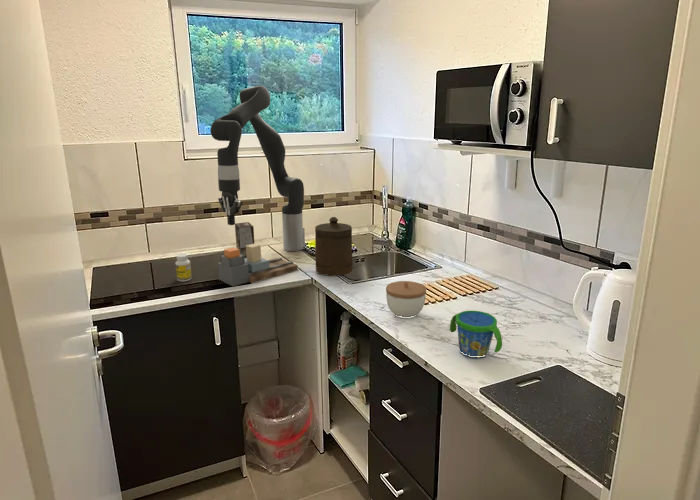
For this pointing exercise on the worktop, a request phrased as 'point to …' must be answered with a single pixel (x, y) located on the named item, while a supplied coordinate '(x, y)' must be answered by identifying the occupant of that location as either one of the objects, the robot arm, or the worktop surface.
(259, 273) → the rail bed
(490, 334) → the snack cup
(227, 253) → the button
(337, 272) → the wooden container
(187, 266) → the supplement bottle
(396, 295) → the lidded bowl
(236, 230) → the coffee box
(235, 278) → the cabinet
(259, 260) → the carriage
